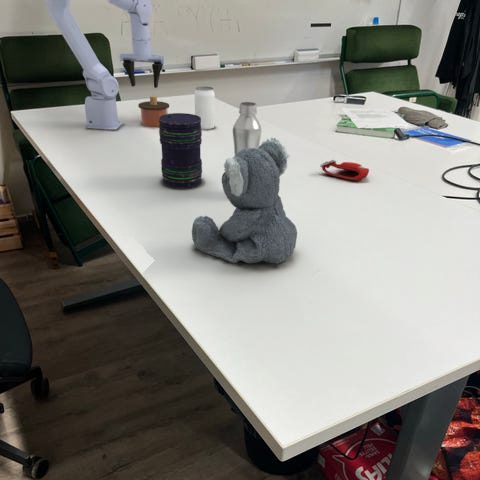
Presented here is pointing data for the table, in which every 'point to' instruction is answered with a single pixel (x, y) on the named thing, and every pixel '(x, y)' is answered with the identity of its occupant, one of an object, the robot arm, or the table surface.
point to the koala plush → (251, 210)
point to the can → (205, 106)
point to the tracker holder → (346, 166)
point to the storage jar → (181, 150)
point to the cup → (152, 117)
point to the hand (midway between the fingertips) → (144, 86)
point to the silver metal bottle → (246, 128)
